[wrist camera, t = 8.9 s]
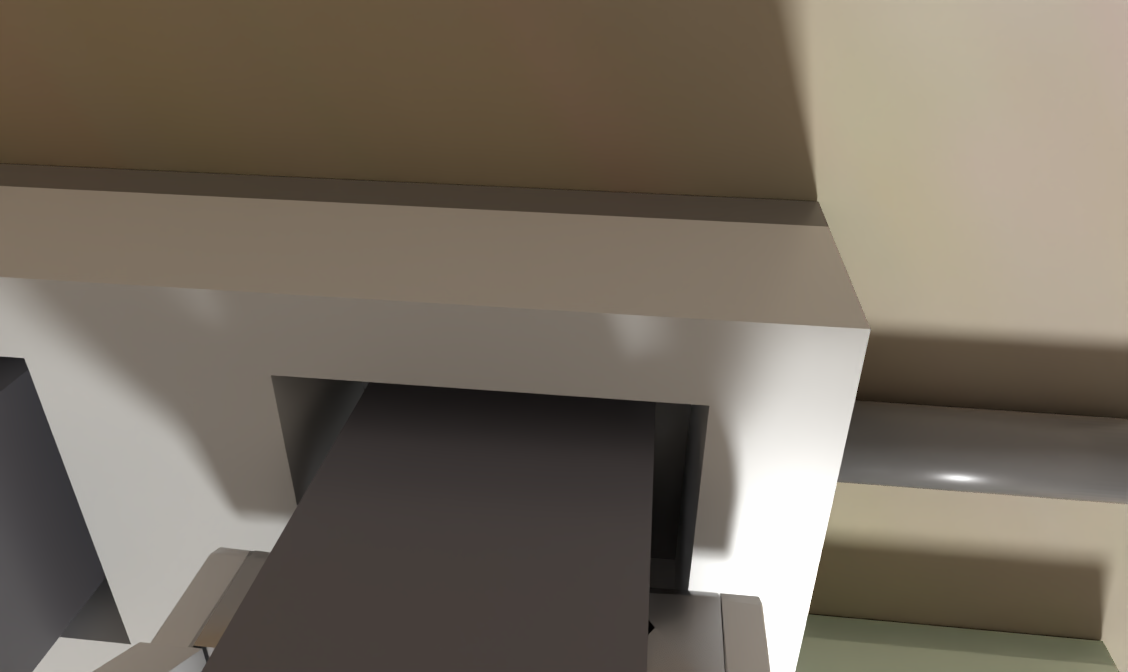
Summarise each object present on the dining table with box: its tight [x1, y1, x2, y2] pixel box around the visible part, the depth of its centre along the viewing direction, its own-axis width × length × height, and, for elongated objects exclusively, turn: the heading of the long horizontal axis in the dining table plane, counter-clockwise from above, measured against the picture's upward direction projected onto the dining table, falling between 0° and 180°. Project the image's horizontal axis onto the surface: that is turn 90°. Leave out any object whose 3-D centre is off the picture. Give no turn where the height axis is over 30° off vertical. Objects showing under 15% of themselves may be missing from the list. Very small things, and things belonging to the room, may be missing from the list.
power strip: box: [0, 164, 1128, 672], centre depth 14 cm, size 24×8×5 cm, turn 90°
